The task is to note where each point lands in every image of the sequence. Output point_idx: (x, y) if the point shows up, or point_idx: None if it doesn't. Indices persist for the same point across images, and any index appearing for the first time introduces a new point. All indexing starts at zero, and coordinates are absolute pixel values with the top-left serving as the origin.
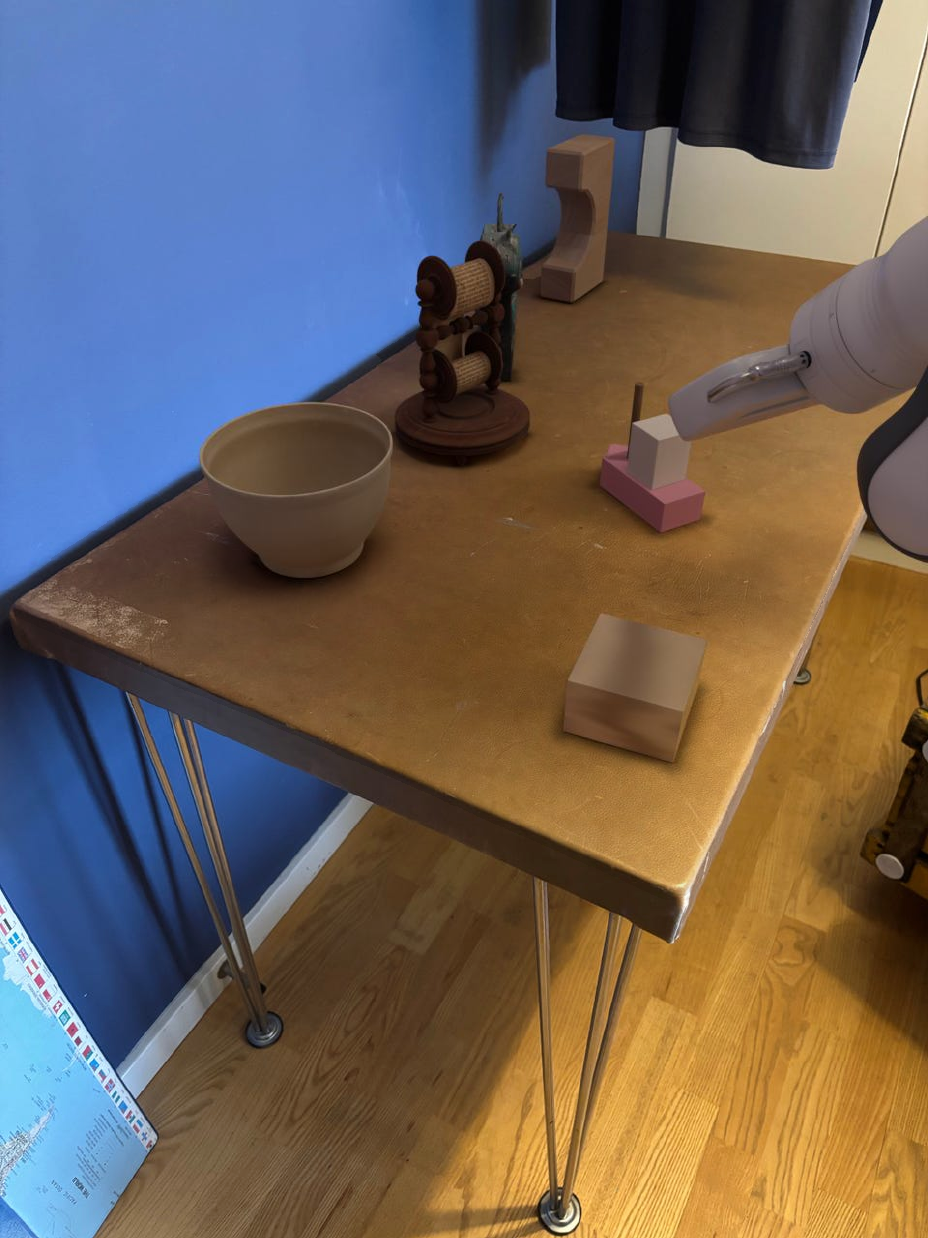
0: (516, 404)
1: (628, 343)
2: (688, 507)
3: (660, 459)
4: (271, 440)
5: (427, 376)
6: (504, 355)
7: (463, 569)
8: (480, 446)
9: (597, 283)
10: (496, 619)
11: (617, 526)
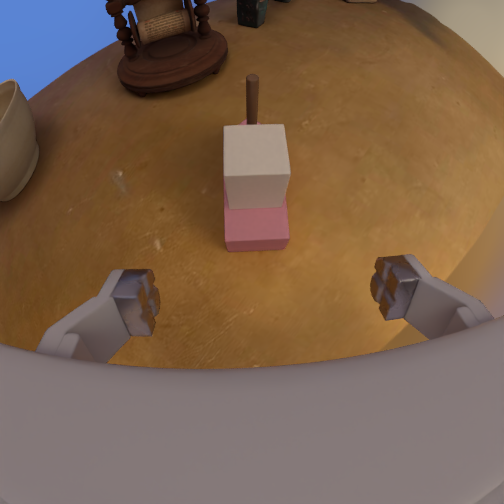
0: (211, 50)
1: (366, 33)
2: (264, 244)
3: (234, 191)
4: (5, 100)
5: (118, 32)
6: (251, 11)
7: (55, 227)
8: (148, 87)
9: (371, 1)
10: (43, 297)
11: (195, 221)
